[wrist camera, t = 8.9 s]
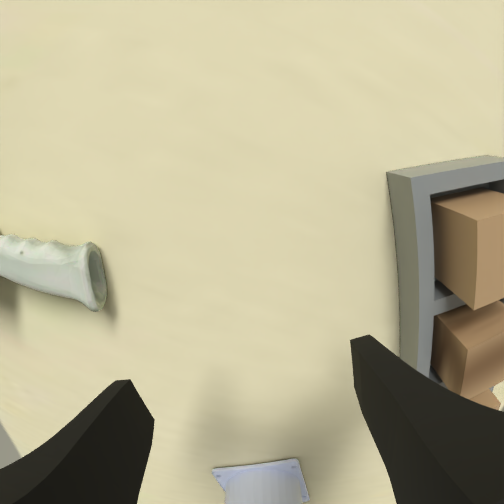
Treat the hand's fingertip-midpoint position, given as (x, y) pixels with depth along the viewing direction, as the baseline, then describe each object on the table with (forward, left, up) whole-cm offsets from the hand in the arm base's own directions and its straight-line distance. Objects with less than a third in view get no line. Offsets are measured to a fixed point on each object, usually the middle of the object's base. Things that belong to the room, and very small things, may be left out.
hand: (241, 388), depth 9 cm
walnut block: (-7, -13, -8) cm, 17 cm away
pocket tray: (-7, -13, -9) cm, 18 cm away
